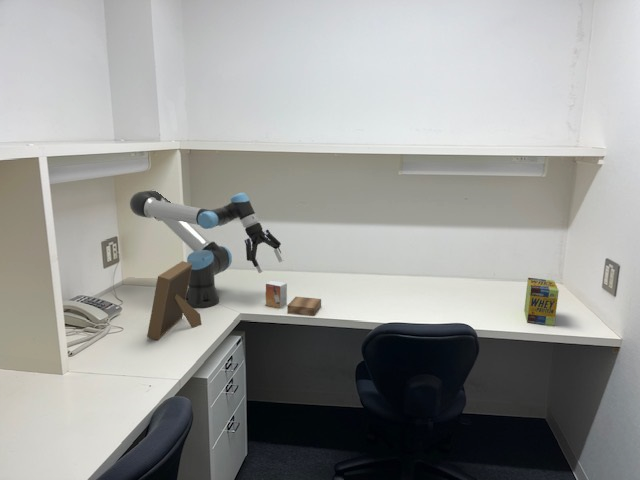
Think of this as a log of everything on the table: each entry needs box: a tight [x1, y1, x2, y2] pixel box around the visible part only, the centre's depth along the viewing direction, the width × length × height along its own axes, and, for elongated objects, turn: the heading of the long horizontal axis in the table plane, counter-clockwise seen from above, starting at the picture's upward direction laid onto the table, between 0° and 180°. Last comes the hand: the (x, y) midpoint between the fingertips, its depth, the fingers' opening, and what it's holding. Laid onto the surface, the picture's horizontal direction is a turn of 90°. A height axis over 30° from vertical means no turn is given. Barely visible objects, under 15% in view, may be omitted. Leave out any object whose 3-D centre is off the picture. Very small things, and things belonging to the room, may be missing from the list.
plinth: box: [286, 296, 322, 317], centre depth 200 cm, size 12×12×4 cm
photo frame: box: [146, 260, 202, 341], centre depth 176 cm, size 15×22×25 cm
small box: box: [265, 280, 288, 309], centre depth 205 cm, size 8×6×10 cm
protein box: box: [523, 277, 559, 327], centre depth 192 cm, size 10×15×16 cm
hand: (271, 266), depth 209 cm, fingers open, 13 cm apart
